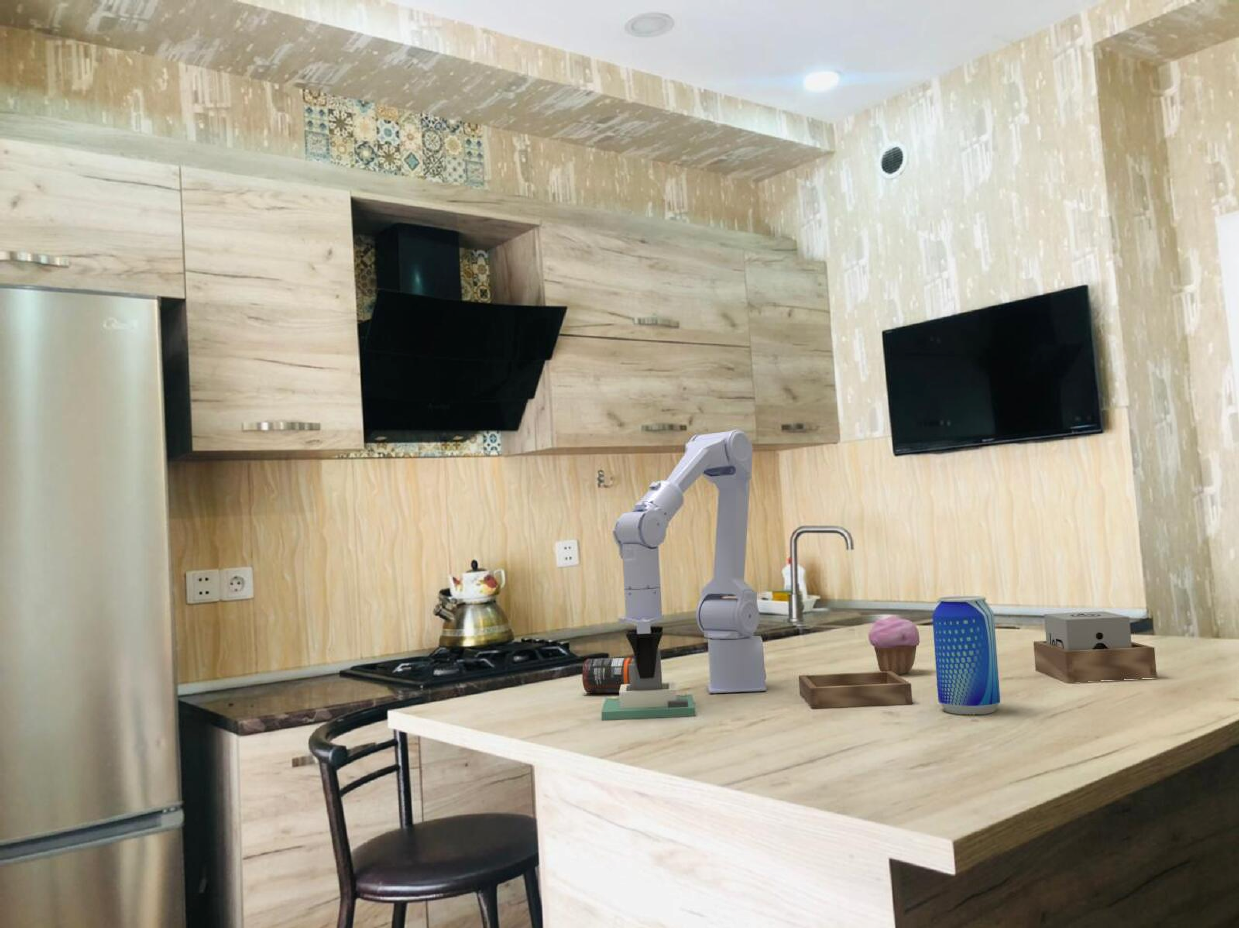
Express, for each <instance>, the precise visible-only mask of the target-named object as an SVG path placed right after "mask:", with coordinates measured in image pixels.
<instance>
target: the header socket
mask: <svg viewBox="0 0 1239 928" xmlns="http://www.w3.org/2000/svg"><path fill="white" fill-rule="evenodd" d="M662 686H663V690H641V691H630V684H624V685H621V687H620V691H619V693H618V694H619V695H618V696H619V697H618V698H619V699H620V709H622V708H643V707H665V706H668V701H676V695H677V688H676V682H675V681H670V682H667V681H666V682H662Z"/></svg>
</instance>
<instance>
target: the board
mask: <svg viewBox="0 0 1239 928" xmlns="http://www.w3.org/2000/svg"><path fill="white" fill-rule="evenodd" d="M600 714H601V721H609V720H610V721H613V720H614V721H615V720H617V721H618V720H635V719H638V720H639V719H659V718H676V717H696V706H695V701H694V696H693V693H691V694H689V693H680V694H676V701H668V706H665V707H643V708H622V709H620V699H619V697H618V696H611V697H607V698H606V697H605V700H604V703H603V706H602V709H601V713H600Z"/></svg>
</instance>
